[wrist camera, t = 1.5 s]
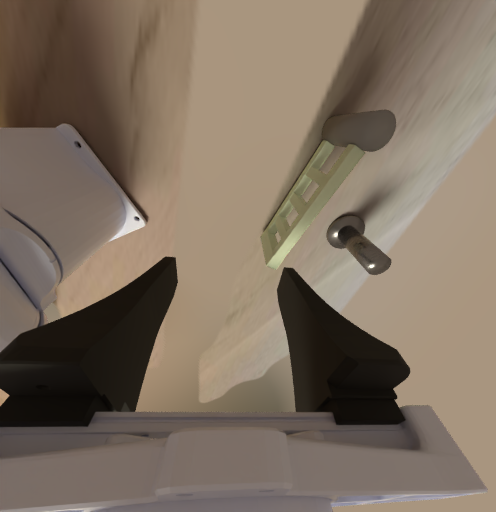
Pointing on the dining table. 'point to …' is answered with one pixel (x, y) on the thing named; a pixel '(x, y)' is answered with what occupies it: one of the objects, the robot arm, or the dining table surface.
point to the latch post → (357, 243)
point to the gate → (325, 176)
